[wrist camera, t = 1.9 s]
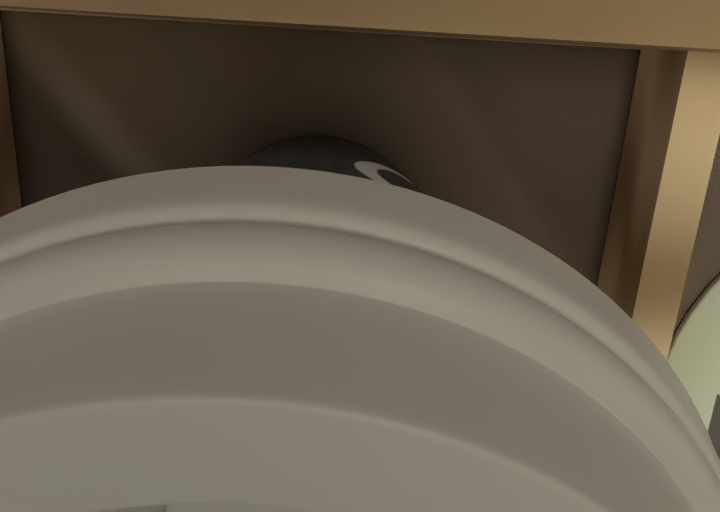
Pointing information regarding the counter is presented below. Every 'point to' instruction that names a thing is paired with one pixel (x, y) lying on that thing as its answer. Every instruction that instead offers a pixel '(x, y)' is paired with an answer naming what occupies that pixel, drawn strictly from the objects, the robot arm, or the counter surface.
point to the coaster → (700, 351)
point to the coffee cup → (321, 354)
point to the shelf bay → (527, 25)
